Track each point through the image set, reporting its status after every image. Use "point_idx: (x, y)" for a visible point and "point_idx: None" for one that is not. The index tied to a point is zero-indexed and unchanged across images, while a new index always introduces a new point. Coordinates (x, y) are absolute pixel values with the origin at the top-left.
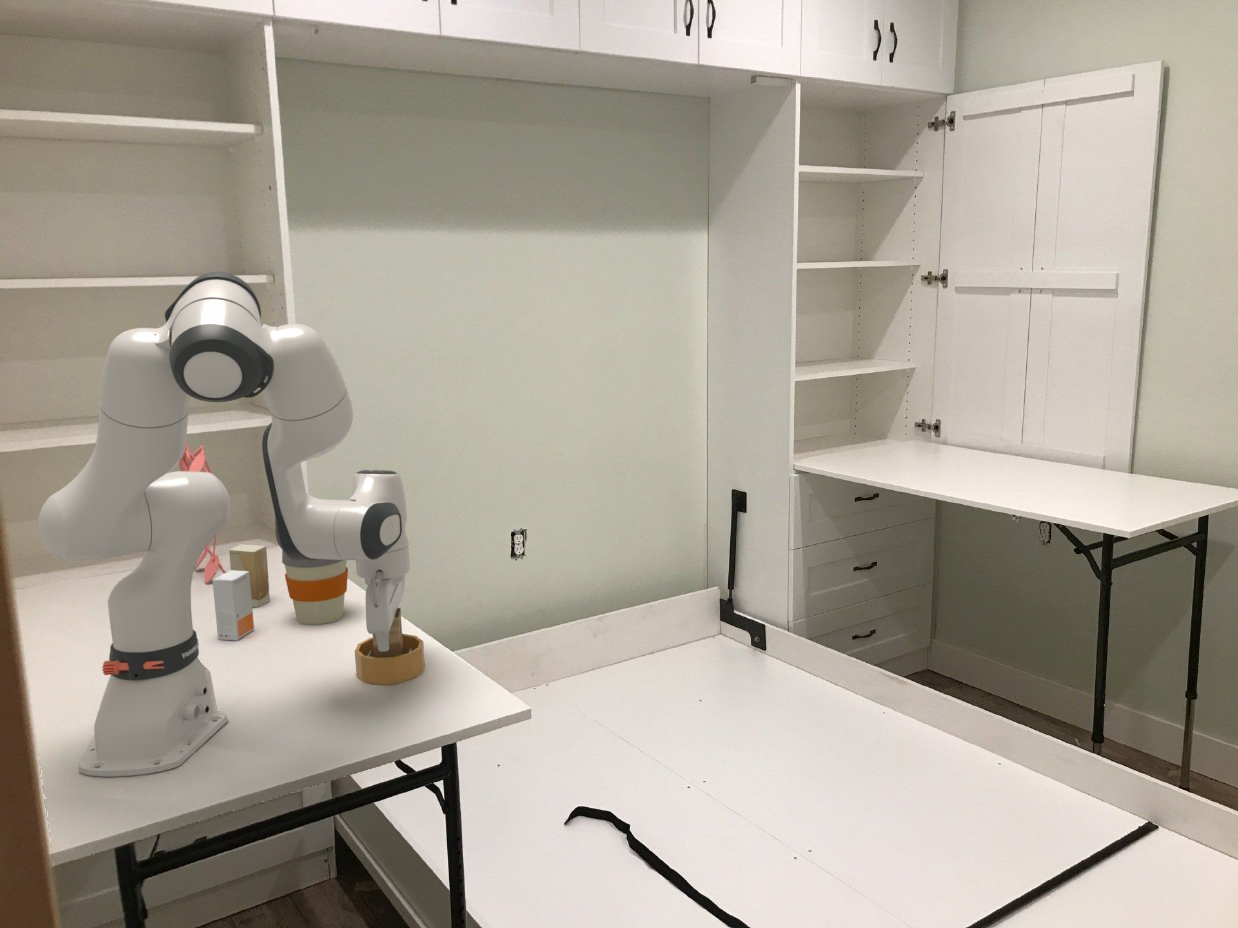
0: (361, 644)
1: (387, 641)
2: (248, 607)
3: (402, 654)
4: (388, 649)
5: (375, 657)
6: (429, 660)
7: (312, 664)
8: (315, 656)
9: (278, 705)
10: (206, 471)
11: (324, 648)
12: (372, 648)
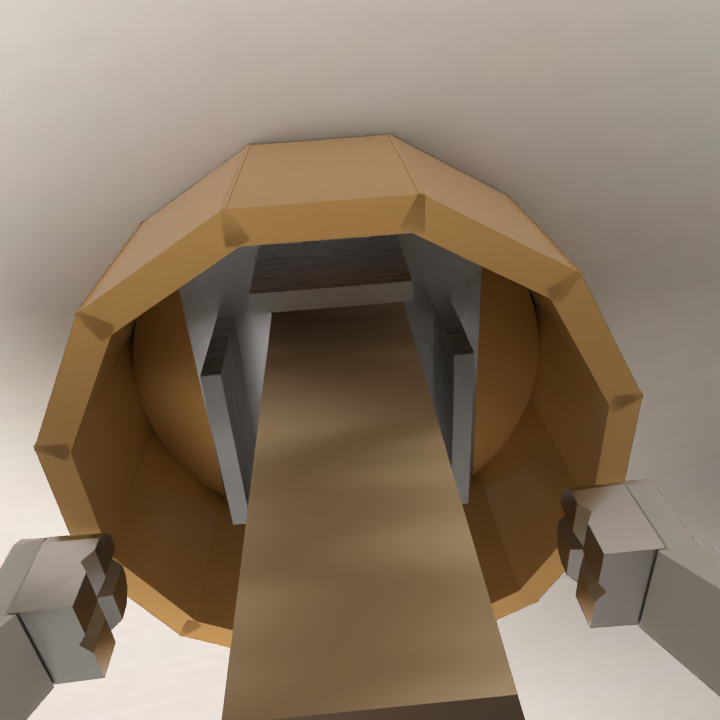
0: None
1: (695, 549)
2: None
3: (321, 347)
4: (652, 483)
5: None
6: (141, 121)
7: None
8: (151, 714)
9: (666, 687)
10: None
11: (46, 711)
12: (203, 555)
